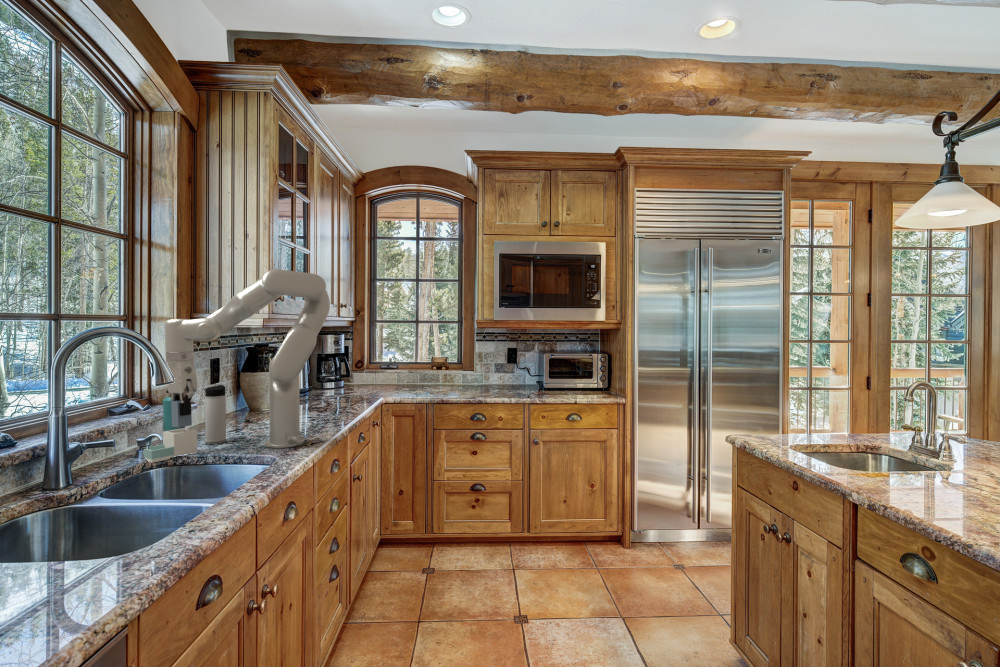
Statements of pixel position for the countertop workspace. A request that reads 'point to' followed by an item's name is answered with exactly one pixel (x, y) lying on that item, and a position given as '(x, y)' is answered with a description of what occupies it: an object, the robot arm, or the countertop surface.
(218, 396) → the travel mug
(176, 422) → the grey rectangular block
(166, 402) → the beverage bottle
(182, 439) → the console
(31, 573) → the countertop surface
